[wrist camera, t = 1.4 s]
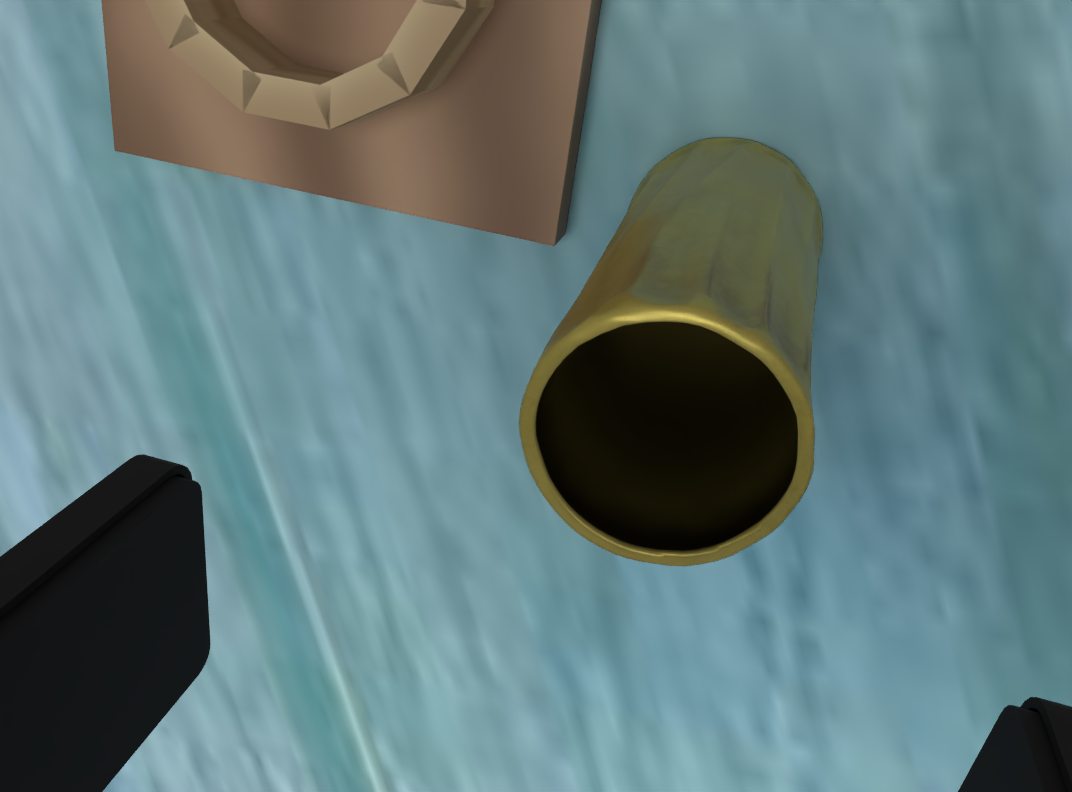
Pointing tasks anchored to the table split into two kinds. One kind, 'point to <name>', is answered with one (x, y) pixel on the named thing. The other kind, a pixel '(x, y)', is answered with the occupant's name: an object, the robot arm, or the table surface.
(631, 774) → the table surface
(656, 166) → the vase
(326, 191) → the stand
